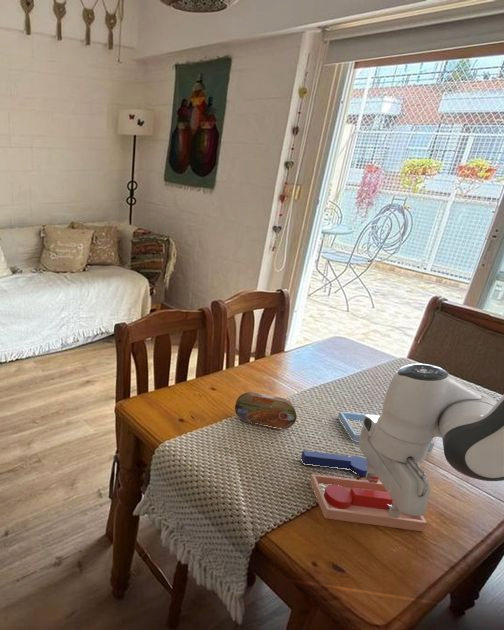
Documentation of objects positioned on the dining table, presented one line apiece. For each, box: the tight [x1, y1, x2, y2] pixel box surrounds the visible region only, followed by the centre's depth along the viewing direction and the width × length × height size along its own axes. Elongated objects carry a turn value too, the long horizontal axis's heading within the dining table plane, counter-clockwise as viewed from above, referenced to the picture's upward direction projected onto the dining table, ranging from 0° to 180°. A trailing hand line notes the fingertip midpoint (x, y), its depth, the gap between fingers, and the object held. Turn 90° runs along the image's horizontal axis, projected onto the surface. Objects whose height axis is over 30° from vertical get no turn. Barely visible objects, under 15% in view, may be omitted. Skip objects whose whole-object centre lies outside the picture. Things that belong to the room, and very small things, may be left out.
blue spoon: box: [300, 449, 367, 478], centre depth 102 cm, size 15×5×3 cm, turn 80°
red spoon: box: [324, 485, 393, 510], centre depth 91 cm, size 15×5×3 cm, turn 80°
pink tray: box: [309, 473, 428, 532], centre depth 91 cm, size 18×10×2 cm, turn 80°
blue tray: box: [337, 411, 435, 452], centre depth 114 cm, size 18×10×2 cm, turn 80°
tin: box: [234, 391, 298, 430], centre depth 116 cm, size 15×3×8 cm, turn 68°
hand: (380, 496), depth 90 cm, fingers open, 8 cm apart
